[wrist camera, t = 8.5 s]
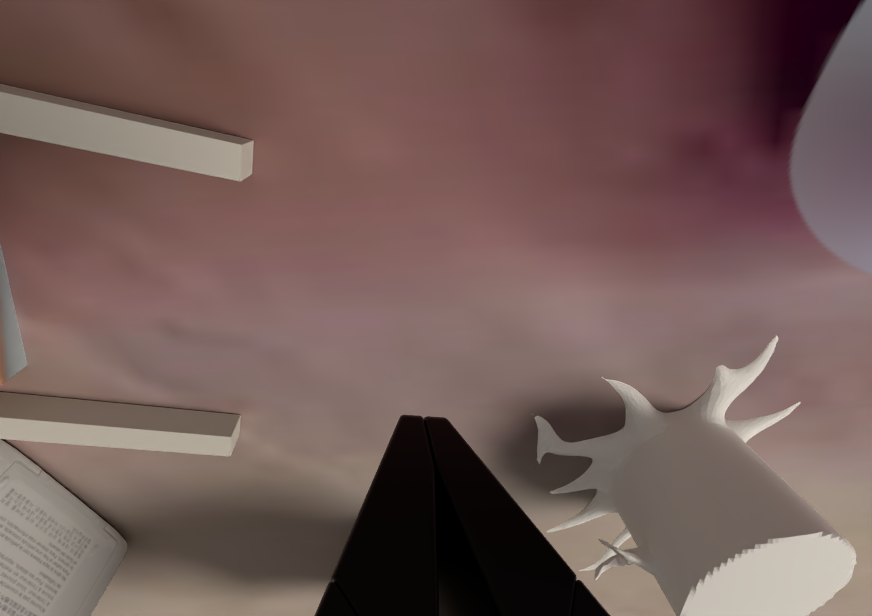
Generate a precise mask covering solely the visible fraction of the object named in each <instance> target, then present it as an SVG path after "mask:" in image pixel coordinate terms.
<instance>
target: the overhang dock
mask: <svg viewBox="0 0 872 616" xmlns="http://www.w3.org/2000/svg"><path fill="white" fill-rule="evenodd" d="M0 133H4V134H9V135H14V136H19V137H24V138H29V139H34V140H39V141H44V142H49V143H53V144H58V145H63V146H68V147H73V148H78V149H83V150H88V151H93V152H98V153H103V154H108V155H113V156H117V157H122V158H127V159H132V160H137V161H142V162H147V163H152V164H157V165H162V166H167V167H172V168H177V169H181V170H186V171H191V172H196V173H201V174H206V175H211V176H216V177H221V178H226V179H231V180H236V181H242V180H243V179H245V178H247V177H248V176H250V175H251V174H252V166H253V145H254V140H250V139H245V138H241V137H236V136H232V135H227V134H223V133H219V132H214V131H210V130H205V129H201V128H196V127H192V126H187V125H183V124H178V123H174V122H169V121H165V120H160V119H156V118H151V117H147V116H142V115H138V114H134V113H129V112H125V111H120V110H116V109H111V108H107V107H102V106H98V105H93V104H89V103H84V102H80V101H75V100H71V99H66V98H62V97H57V96H53V95H48V94H44V93H40V92H35V91H31V90H26V89H22V88H17V87H13V86H8V85H4V84H0ZM240 418H241V415H236V414H225V413H215V412H205V411H194V410H184V409H173V408H163V407H153V406H142V405H132V404H121V403H111V402H101V401H90V400H80V399H69V398H59V397H49V396H38V395H28V394H17V393H7V392H0V439H9V440H22V441H35V442H48V443H61V444H74V445H88V446H101V447H114V448H127V449H140V450H153V451H166V452H179V453H192V454H205V455H218V456H231V454H232V451H233V449H234V446H235V444H236V442H237V439H238V437H239V434H240Z"/></svg>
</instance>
